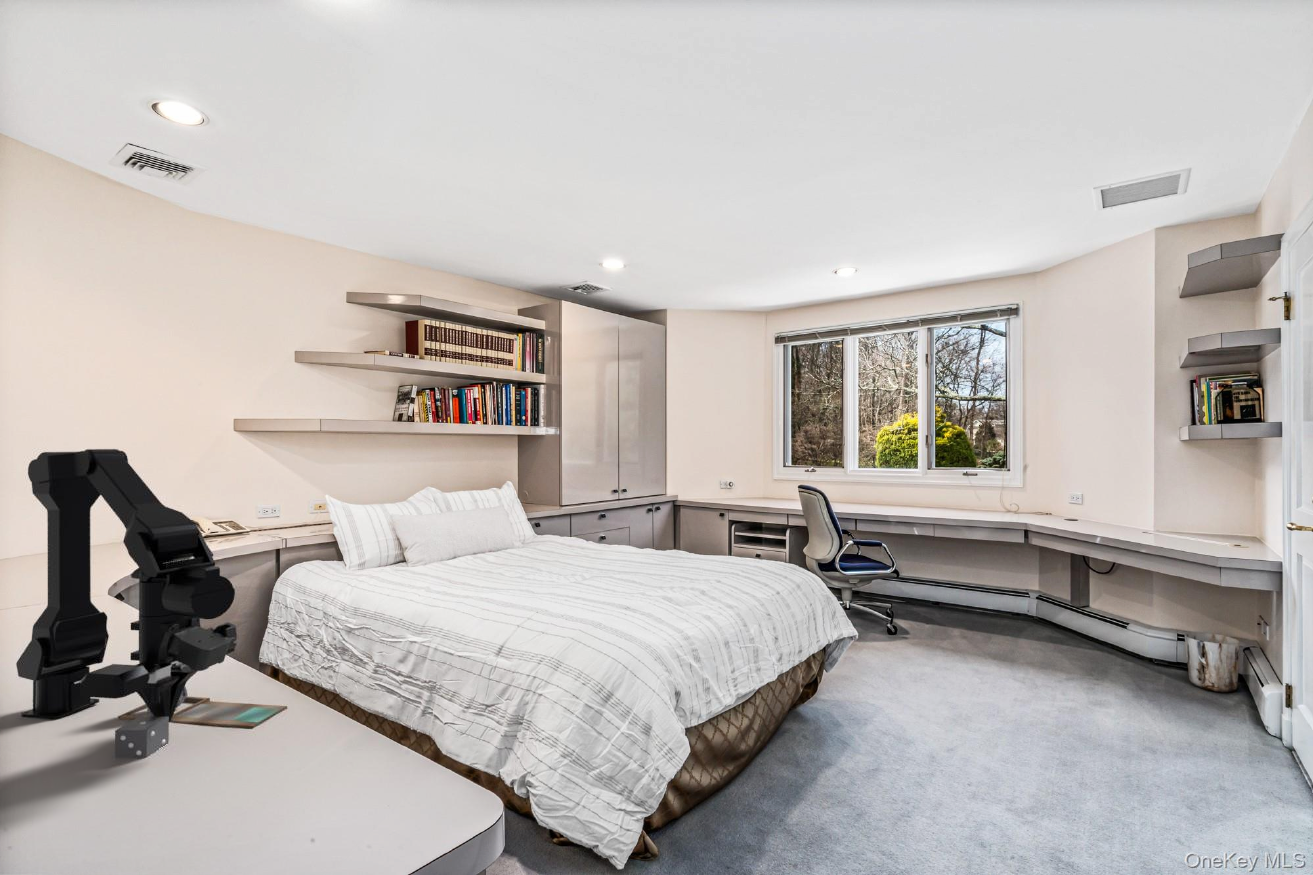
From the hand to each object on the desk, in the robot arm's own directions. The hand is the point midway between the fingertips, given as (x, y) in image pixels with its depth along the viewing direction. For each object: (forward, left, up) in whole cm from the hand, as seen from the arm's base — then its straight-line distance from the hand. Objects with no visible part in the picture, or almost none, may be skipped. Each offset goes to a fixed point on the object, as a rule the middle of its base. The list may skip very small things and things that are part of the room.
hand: (164, 723), depth 88 cm
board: (+1, +9, -3) cm, 10 cm away
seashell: (-9, +9, -3) cm, 13 cm away
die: (0, -3, -3) cm, 4 cm away
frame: (-9, +9, -3) cm, 13 cm away
